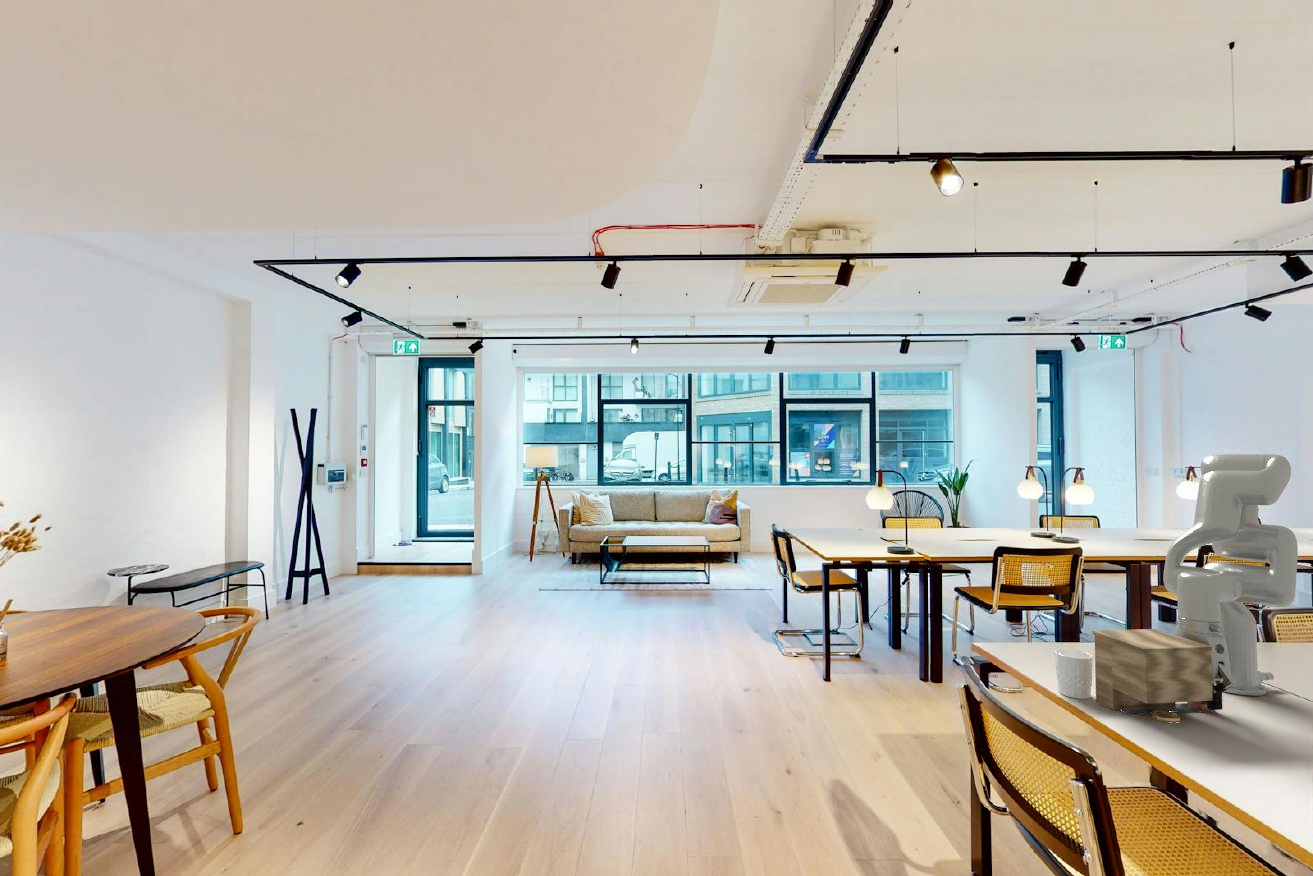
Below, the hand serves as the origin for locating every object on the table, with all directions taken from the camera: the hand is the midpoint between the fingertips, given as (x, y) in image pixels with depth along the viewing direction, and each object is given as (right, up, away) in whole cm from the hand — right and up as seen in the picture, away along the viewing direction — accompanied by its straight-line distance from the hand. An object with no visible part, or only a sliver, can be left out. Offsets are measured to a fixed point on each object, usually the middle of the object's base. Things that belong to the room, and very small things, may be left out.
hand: (1201, 703), depth 147 cm
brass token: (-13, -2, -5) cm, 14 cm away
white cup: (-24, -2, +9) cm, 25 cm away
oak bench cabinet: (-13, -1, -2) cm, 13 cm away
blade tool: (-9, -1, -1) cm, 9 cm away
